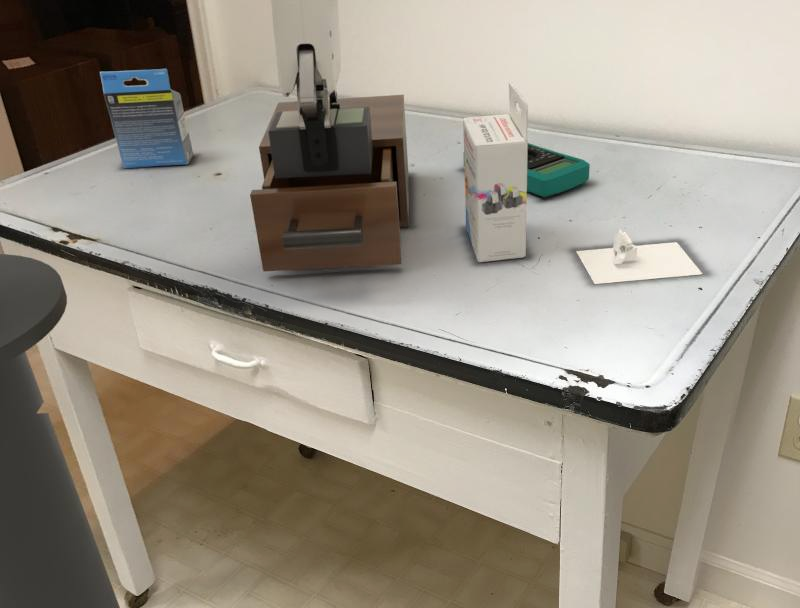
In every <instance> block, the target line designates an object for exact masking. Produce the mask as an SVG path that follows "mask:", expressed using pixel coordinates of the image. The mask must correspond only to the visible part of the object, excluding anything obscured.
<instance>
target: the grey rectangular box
mask: <svg viewBox="0 0 800 608" xmlns="http://www.w3.org/2000/svg"><path fill="white" fill-rule="evenodd" d="M322 110H323V109H322ZM330 114H331V126H335V135H336V145H337V155H338V169H337V170H336V171H324V172H305V171H304V169H303V161H302V153H301V145H300V136H299V114H298V111H285V112H277V113H276V115H275V117H274V120H273V122H272V124H271V127H270V129H269V131H268V133H269V140H270V147H271V154H272V161H273V168H274V175H275V179H280V178H300V177H319V176H339V175H358V174H371V166H372V157H373V146H372V132H371V119H370V108H369V107H359V108H340V109H330Z"/></svg>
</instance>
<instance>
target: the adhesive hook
mask: <svg viewBox="0 0 800 608" xmlns="http://www.w3.org/2000/svg"><path fill="white" fill-rule="evenodd" d="M637 246H638V245H635V244H633V240H632V239H631V238H630V236H629V235H628V233H627V232H626V231H622V229H621V228H619V229H618V231H617V233H616V234H615V236H614V239H613V246H612V247H611V248H612V250H613V264H614V265H622V264H623V263H625V262H636V261H637V260H638V247H637Z"/></svg>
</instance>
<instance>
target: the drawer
mask: <svg viewBox="0 0 800 608" xmlns="http://www.w3.org/2000/svg"><path fill="white" fill-rule="evenodd" d="M261 188H262V189H261ZM261 188H260V189H251V191H250V194H249V197H250V202H251V208H252V215H253V220H254V227H255V232H256V238H257V243H258V249H259V254H260V255H259V256H260V260H261V261H260V262H261V267H262V271H263V272H265V273H266V272H281V271H284V272H285V271H298V270H299V271H300V270H318V269H319V270H321V269H336V268H337V269H338V268H355V267H373V266H392V265H402V264H403V261H402V260H403V254H402V242H401V227H400V225H399V210H398V195H397V182H395V181H394V166H393V152H392V146H387V147H373V157H372V166H371V174H358V175H339V176H319V177H300V178H280V179H275V175H274V168H273V161H272V162H271V164H270V167H269V169H268V172H267V175H266V177H265V180H264V179H263V183H262V185H261Z"/></svg>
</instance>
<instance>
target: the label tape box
mask: <svg viewBox="0 0 800 608" xmlns="http://www.w3.org/2000/svg"><path fill="white" fill-rule="evenodd" d="M99 76H100V80H101V85H102V91H103V97H104V101H105V103H106V107H107V111H108V114H109V118H110V121H111V126H112V130H113V134H114V137H115V141H116V145H117V149H118V152H119V156H120V159H121V164H122V167H123V168H124V169H136V168H150V167H161V166H163V167H165V166H181V165H189V163H190V161H192V158H193V157H194V151H193V146H192V140H191V136H190V131H189V128H188V123H187V118H186V114H185V110H184V106H183V100H182V96H181V93H180V92H178V91H176V90H174V89H172V88H171V85H170V77H169V72H168V69H167V68H159V69H139V70H138V69H136V70H119V71H118V70H117V71H112V70H111V71H99ZM133 79H136V80H137V81H145V83H146V84H139V85H125V82H131V81H132V80H133Z"/></svg>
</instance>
